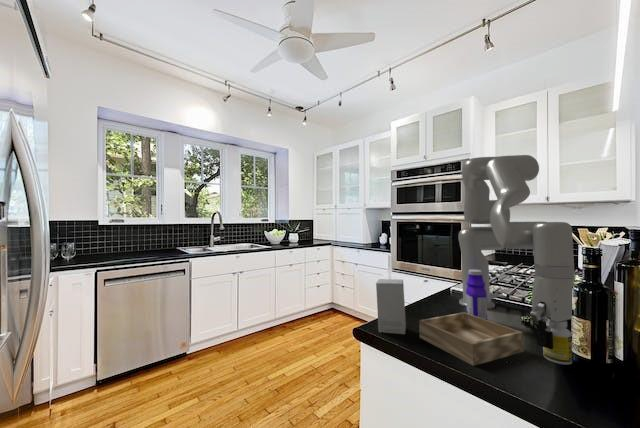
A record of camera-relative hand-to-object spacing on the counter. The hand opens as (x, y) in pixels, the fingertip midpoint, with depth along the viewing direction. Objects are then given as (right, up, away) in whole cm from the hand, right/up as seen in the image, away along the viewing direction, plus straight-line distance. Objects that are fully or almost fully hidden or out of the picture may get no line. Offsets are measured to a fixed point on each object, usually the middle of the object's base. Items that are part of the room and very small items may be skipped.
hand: (557, 343), depth 68 cm
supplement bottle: (0, -4, 0) cm, 4 cm away
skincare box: (-35, -6, +21) cm, 41 cm away
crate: (-17, -5, +10) cm, 20 cm away
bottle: (-5, -5, +26) cm, 27 cm away
